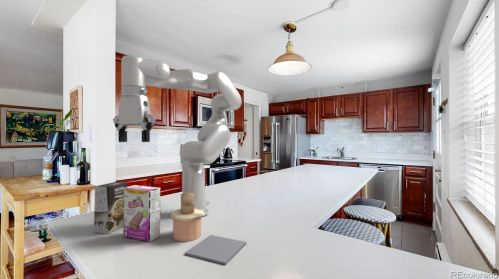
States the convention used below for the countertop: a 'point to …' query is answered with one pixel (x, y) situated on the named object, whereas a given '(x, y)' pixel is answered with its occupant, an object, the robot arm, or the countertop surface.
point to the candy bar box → (142, 212)
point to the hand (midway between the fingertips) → (134, 142)
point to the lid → (187, 209)
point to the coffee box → (109, 207)
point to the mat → (216, 249)
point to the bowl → (187, 230)
